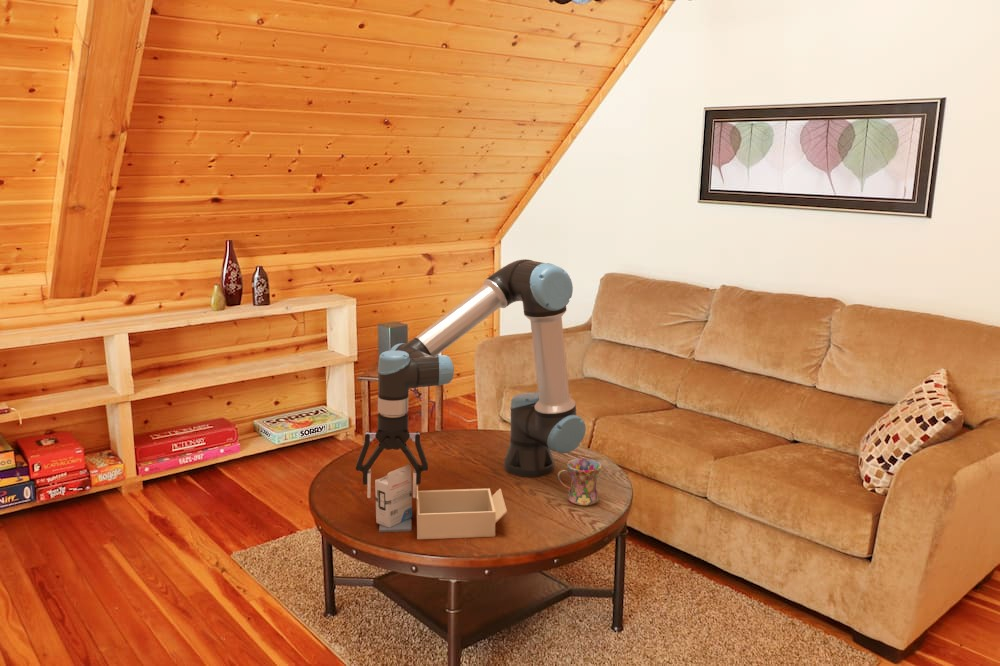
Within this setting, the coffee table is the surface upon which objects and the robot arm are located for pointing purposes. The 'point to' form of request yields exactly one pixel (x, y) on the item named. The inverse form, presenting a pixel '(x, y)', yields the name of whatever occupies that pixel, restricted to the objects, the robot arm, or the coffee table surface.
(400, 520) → the ink box
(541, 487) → the coffee table surface
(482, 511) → the carton
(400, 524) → the felt pad
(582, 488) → the mug
